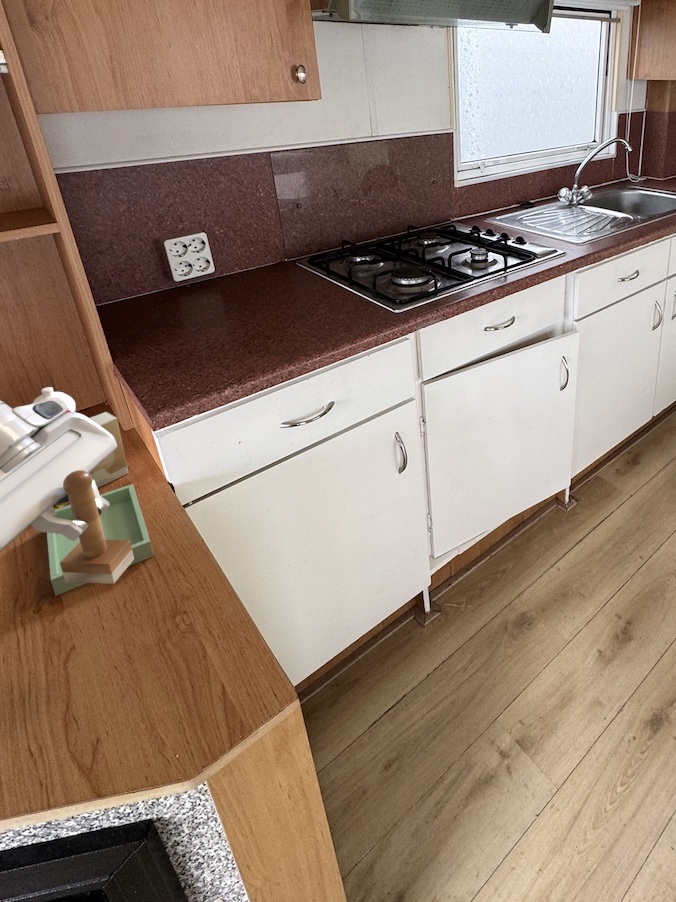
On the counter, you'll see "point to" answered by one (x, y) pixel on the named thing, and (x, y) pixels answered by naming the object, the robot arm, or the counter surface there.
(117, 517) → the tray
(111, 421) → the cosmetic box
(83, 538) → the stamp
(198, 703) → the counter surface
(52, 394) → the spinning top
